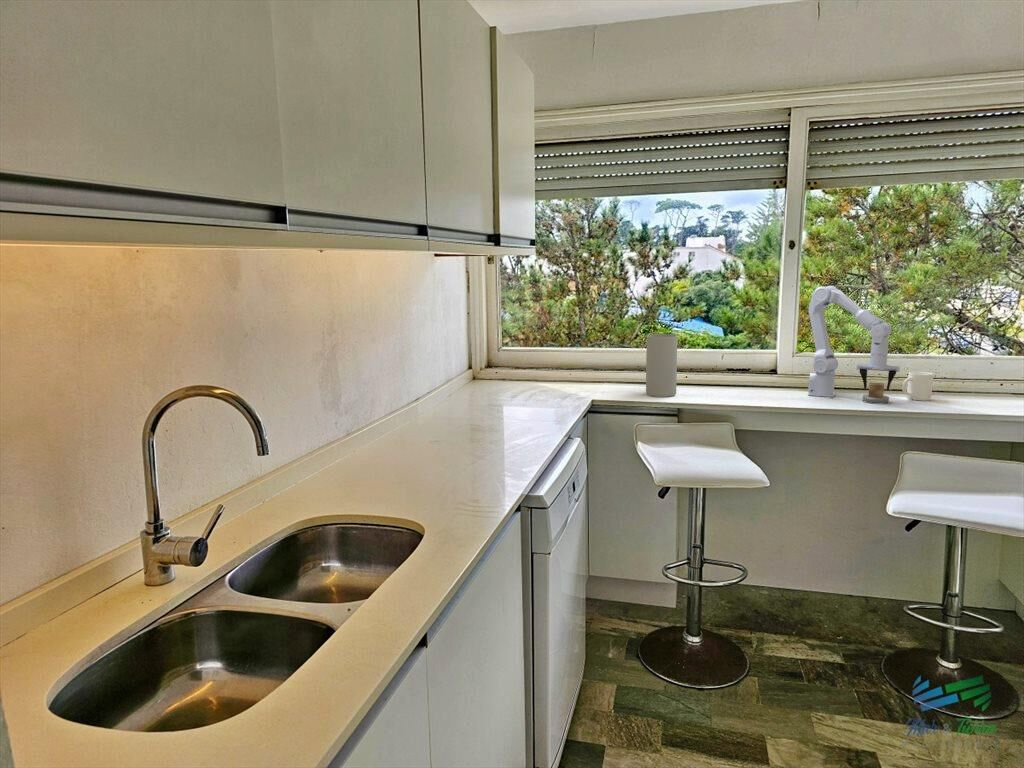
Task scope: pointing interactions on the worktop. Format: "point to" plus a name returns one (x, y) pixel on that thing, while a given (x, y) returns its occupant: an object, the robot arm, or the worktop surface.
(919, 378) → the mug
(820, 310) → the robot arm
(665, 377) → the cylinder vase
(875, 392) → the walnut cube
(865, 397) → the slate pedestal
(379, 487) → the worktop surface
